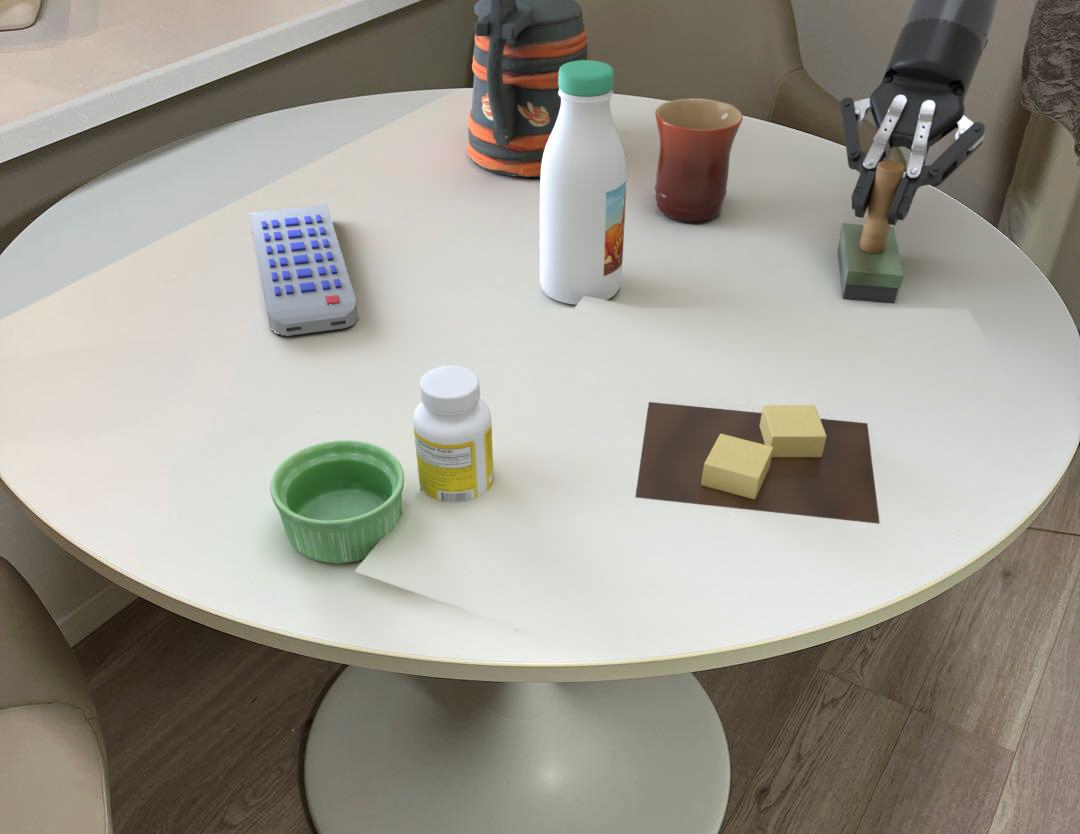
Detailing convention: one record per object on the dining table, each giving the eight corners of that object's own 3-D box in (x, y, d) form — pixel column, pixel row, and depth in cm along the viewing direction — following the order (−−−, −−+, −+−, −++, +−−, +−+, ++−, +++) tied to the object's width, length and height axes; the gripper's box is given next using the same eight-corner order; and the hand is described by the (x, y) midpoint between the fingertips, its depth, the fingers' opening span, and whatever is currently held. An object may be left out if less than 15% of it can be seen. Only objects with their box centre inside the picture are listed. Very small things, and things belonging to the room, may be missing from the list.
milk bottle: (580, 316, 96) (587, 89, 83) (522, 286, 100) (520, 66, 87) (637, 287, 100) (652, 67, 87) (579, 260, 104) (585, 46, 91)
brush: (886, 254, 106) (913, 146, 98) (896, 304, 98) (926, 190, 91) (836, 250, 106) (859, 142, 99) (841, 299, 99) (867, 186, 92)
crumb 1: (769, 468, 77) (773, 446, 76) (754, 500, 75) (759, 478, 73) (717, 454, 79) (720, 432, 77) (700, 485, 76) (703, 463, 75)
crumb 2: (810, 426, 81) (815, 404, 80) (821, 457, 78) (827, 436, 77) (759, 426, 81) (763, 404, 80) (768, 457, 78) (772, 436, 77)
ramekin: (254, 548, 73) (242, 500, 70) (324, 474, 79) (317, 426, 76) (367, 586, 70) (360, 537, 67) (431, 506, 76) (427, 458, 73)
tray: (863, 438, 83) (867, 422, 82) (875, 539, 74) (879, 523, 73) (647, 417, 85) (648, 401, 84) (633, 513, 76) (635, 496, 75)
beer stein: (570, 204, 114) (576, 3, 100) (440, 189, 116) (429, -9, 103) (603, 137, 127) (612, -47, 114) (486, 126, 130) (481, -56, 116)
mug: (704, 236, 108) (716, 137, 101) (631, 214, 112) (638, 116, 105) (757, 197, 116) (772, 101, 109) (688, 177, 119) (698, 83, 112)
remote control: (329, 221, 110) (327, 201, 109) (361, 329, 94) (359, 307, 93) (252, 230, 109) (248, 209, 107) (271, 341, 93) (267, 318, 91)
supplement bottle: (460, 461, 80) (454, 350, 74) (509, 494, 77) (507, 381, 71) (404, 492, 77) (393, 380, 71) (453, 528, 74) (446, 414, 68)
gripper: (864, 3, 95) (797, 184, 95) (1024, 28, 90) (953, 218, 90) (868, 49, 102) (805, 217, 102) (1017, 74, 97) (950, 250, 97)
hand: (875, 217), depth 96 cm, fingers closed on brush, 2 cm apart
